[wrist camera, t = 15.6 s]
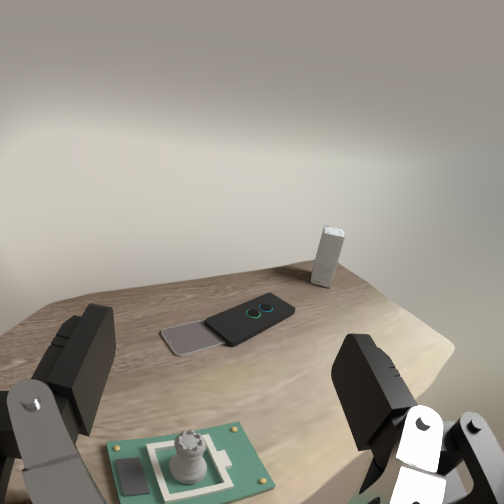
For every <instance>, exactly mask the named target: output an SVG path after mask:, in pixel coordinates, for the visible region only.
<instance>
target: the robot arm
mask: <svg viewBox="0 0 504 504" xmlns="http://www.w3.org/2000/svg"><path fill="white" fill-rule="evenodd" d="M115 350H116V340H115V330H114V317H113V309H112V307H108V306H103V305H97V304H92V303H90V304H89V305H88V307H87V308H86V310H85V312H84V313H83V315H82V317H79V316H75V315H74V316H73V317H71V318H70V319H68V320H67V321H66V322H64V323H63V324H62V326H61V327H60V329H59V331H58V332H57V334H56V336H55V337H54V339H53V341H52V342H51V345H50V346H49V347H48V349H47V351H46V353H45V354H44V356H43V358H42V360H41V361H40V363H39V365H38V367H37V369H36V370H35V372H34V374H33V376H32V378H31V379H28V380H23V381H20V382H18V383H17V384H15V385H14V386H13V387H12V388H11V389H10V391H0V504H4V500H5V495H6V491H7V487H8V483H9V479H10V475H11V471H12V467H13V464H14V460H15V458H18V459H22V460H23V463H24V467H25V469H23V470H22V475H23V479H24V482H25V485H26V488H27V490H28V493H29V495H30V498H31V500H32V502H33V504H108V503H107V502H106V500H105V499H104V497H103V496H102V494H101V492H100V491H99V489H98V487H97V485H96V484H95V482H94V480H93V478H92V476H91V475H90V473H89V471H88V469H87V467H86V465H85V463H84V461H83V459H82V457H81V455H80V453H79V451H78V449H77V447H76V445H75V444H76V441H77V437H78V434H82V435H85V436H90V433H91V429H92V426H93V422H94V419H95V415H96V412H97V409H98V406H99V403H100V399H101V396H102V393H103V390H104V387H105V384H106V381H107V378H108V375H109V372H110V369H111V366H112V363H113V361H114V357H115ZM331 377H332V382H333V384H334V387H335V389H336V392H337V395H338V397H339V400H340V403H341V405H342V408H343V411H344V413H345V416H346V419H347V421H348V424H349V427H350V429H351V432H352V435H353V438H354V440H355V443H356V446H357V449H358V451H363V450H369V449H371V451H372V453H373V454H372V455H371V456H370V457H369V459H368V461H367V464H366V467H365V469H364V471H363V474H362V476H361V478H360V481H359V483H358V485H357V487H356V490H355V492H354V494H353V496H352V498H351V500H350V501H349V503H348V504H504V453H503V451H502V449H501V448H500V446H499V444H498V442H497V440H496V438H495V437H494V435H493V433H492V431H491V429H490V428H489V426H488V425H487V423H486V421H485V420H484V419H483V418H482V417H481V416H480V415H479V414H477V413H474V412H465V413H464V414H463V415H462V416H461V417H460V418H459V419H458V420H457V422H452V421H442V420H441V419H440V417H439V416H438V414H437V413H436V412H434V411H433V410H432V409H430V408H428V407H425V406H418V405H417V403H416V401H415V399H414V398H413V396H412V394H411V392H410V391H409V389H408V387H407V386H406V384H405V382H404V380H403V379H402V377H400V374H399V372H398V370H397V369H395V365H394V364H393V362H392V360H391V359H390V357H389V356H388V355H387V354H386V353H385V352H383V351H382V350H381V349H380V348H377V346H376V344H375V343H374V341H373V339H372V338H371V336H370V335H368V334H348V335H347V336H346V337H345V339H344V341H343V344H342V346H341V348H340V350H339V352H338V354H337V357H336V359H335V361H334V363H333V366H332V370H331ZM463 460H464V461H465V464H466V466H467V468H468V470H469V472H470V474H471V477H472V479H473V481H474V487H473V490H472V491H471V493H470V494H469V495H467V494H466V492H465V489H464V487H463V484H462V482H461V480H460V477H459V475H458V473H457V470H456V468H455V467H457V466H458V465H459V464H460V463H461V462H462V461H463Z"/></svg>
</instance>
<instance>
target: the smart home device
mask: <svg viewBox="0 0 504 504" xmlns="http://www.w3.org/2000/svg"><path fill="white" fill-rule="evenodd" d="M294 312H295V307H293V306H291V305H290V304H288V303H287V302H285V301H283V300H282V299H280V298H278V297H277V296H275V295H273V294H272V293H267V294H264V295H262V296H260V297H257V298H255V299H252V300H250V301H248V302H245V303H243V304H241V305H238V306H236V307H233V308H231V309H228V310H226V311H224V312H221V313H219V314H216V315H214V316H211V317H209V318H207V319H205V323H204V325H206V326H207V327H208V328H209V329H210V330H212V331H213V332H214V333H215V334H216V335H218V336H219V337H220V338H221V339H223V340H224V341H225V342H226V343H225V344H227V345H228V346H229V347H234V346H237V345H239V344H241V343H242V342H244V341H246V340H248V339H250V338H252V337H254V336H256V335H257V334H259V333H261V332H263V331H265V330H267V329H268V328H270V327H272V326H274V325H276V324H277V323H279V322H281V321H283V320H284V319H286V318H288V317H290V316H291V315H293V314H294Z"/></svg>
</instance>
